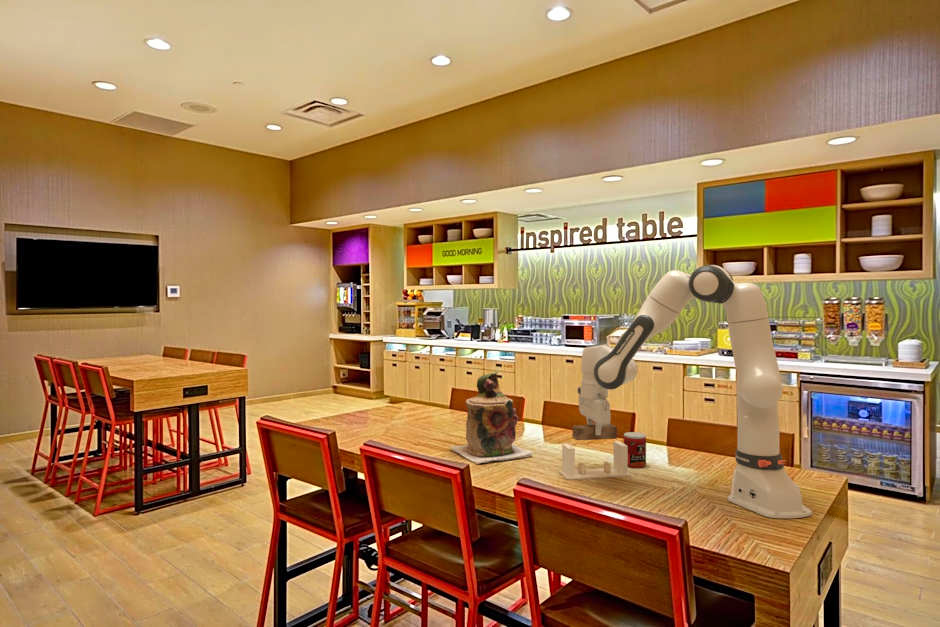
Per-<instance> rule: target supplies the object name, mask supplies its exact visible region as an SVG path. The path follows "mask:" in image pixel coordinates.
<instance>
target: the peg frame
mask: <svg viewBox="0 0 940 627" xmlns="http://www.w3.org/2000/svg"><path fill="white" fill-rule="evenodd" d="M561 444H562V446H561V452H562V453H561V454H562V458H561V459H562V460H561V463H562V465H561V466H562V467H561V468H562V470H559V474H560V475H562V477H564V478H565V479H566V480H584V479H587V480H588V479H602V478H603V479H604V478H605V479H606V478H618V477H619V478H621V477H631V473H630V472H628V469H629V467H628V446H627V445H625V444H624V442H621V441H619V440H616V441H615V440H614V441H613V467H612V464H611V462H610V463H609V461H603V468H586V465H585V464H584V463H583V462H578V469H575V468H576V463H575V461H576V460H575V459H576V458H575V456H576V449H575V447H573V445H571V444H570V443H566V442H565V443H561Z"/></svg>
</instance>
